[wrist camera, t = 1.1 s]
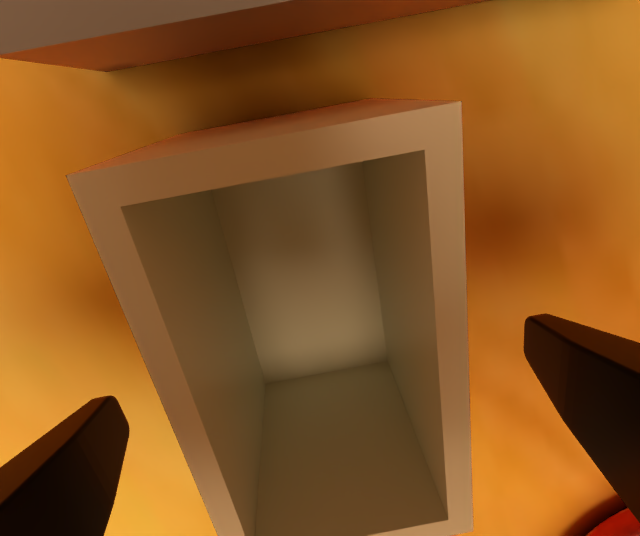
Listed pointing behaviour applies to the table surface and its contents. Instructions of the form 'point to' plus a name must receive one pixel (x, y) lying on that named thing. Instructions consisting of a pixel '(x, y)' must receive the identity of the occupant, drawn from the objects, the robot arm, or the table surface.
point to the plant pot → (618, 525)
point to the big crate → (175, 26)
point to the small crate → (303, 312)
